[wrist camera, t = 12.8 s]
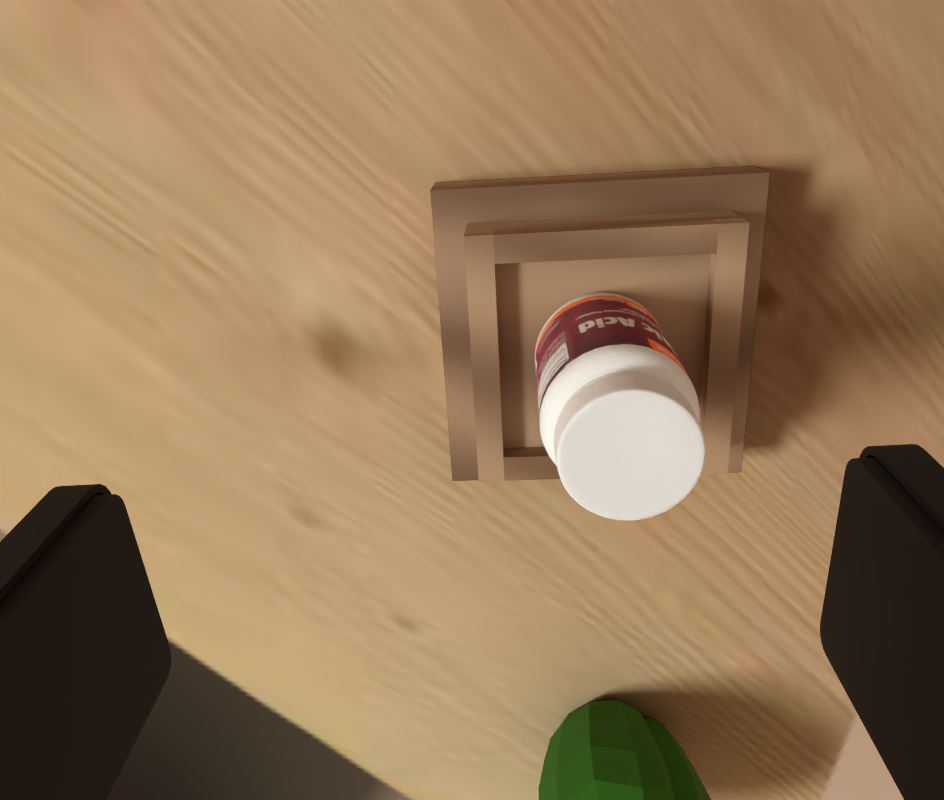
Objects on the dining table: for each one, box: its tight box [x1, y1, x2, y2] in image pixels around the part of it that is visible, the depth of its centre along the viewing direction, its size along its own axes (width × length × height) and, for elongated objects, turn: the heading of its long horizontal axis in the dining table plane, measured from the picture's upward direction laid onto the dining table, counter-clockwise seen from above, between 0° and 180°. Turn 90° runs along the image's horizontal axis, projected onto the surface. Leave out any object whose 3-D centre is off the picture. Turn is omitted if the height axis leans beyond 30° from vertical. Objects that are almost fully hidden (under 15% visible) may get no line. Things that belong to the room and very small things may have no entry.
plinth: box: [430, 166, 770, 481], centre depth 29 cm, size 12×12×4 cm
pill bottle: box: [535, 293, 706, 520], centre depth 24 cm, size 5×5×8 cm
